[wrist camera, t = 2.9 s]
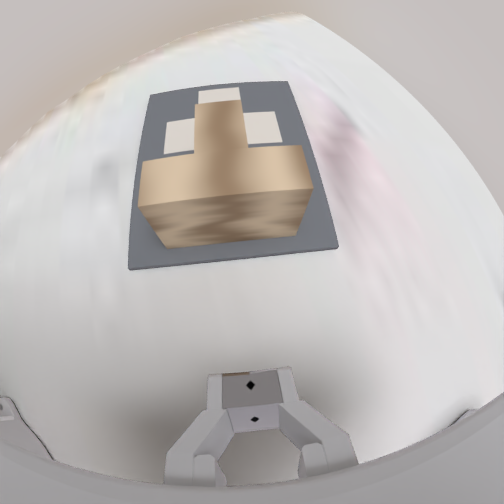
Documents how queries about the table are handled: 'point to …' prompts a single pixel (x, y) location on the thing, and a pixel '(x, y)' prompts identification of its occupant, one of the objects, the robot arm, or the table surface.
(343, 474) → the robot arm
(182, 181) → the maple T-block
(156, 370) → the table surface
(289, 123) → the slate mat
